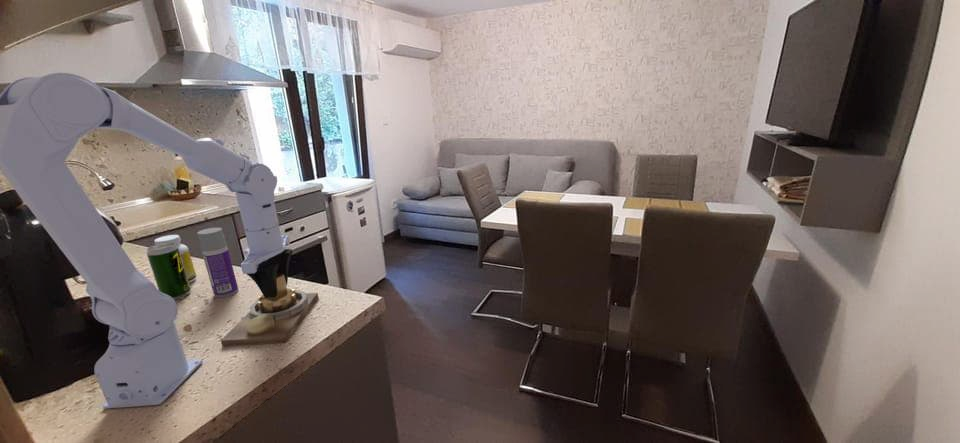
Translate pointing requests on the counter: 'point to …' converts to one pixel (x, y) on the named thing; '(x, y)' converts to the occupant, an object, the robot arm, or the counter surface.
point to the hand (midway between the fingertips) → (276, 291)
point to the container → (218, 262)
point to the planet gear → (278, 297)
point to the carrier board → (273, 334)
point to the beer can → (169, 270)
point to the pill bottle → (183, 252)
